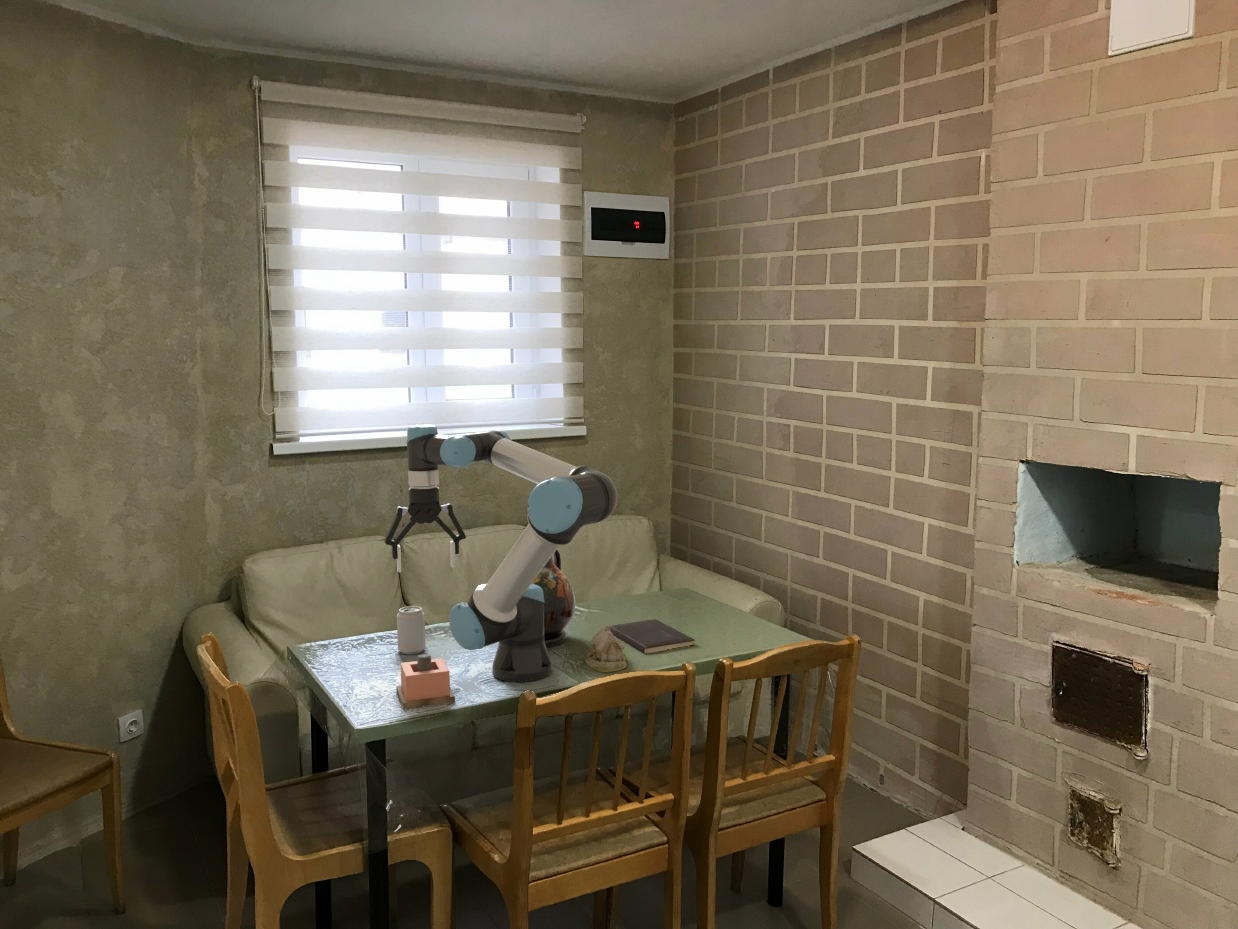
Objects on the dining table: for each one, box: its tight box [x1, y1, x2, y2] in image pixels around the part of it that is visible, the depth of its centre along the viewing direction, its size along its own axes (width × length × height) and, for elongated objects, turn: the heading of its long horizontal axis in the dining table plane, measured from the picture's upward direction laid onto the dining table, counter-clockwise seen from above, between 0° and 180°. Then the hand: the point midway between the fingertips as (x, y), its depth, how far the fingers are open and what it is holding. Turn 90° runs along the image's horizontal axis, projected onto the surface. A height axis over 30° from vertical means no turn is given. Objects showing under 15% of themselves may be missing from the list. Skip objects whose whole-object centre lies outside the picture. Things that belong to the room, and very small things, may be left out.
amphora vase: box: [532, 546, 576, 648], centre depth 274 cm, size 22×22×28 cm
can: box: [396, 605, 427, 655], centre depth 266 cm, size 8×8×12 cm
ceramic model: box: [585, 625, 627, 673], centre depth 255 cm, size 14×11×10 cm
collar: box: [400, 657, 451, 701], centre depth 231 cm, size 10×10×6 cm
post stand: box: [395, 654, 456, 710], centre depth 231 cm, size 12×12×10 cm
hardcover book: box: [608, 618, 696, 655], centre depth 276 cm, size 16×23×2 cm
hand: (426, 569), depth 247 cm, fingers open, 13 cm apart
